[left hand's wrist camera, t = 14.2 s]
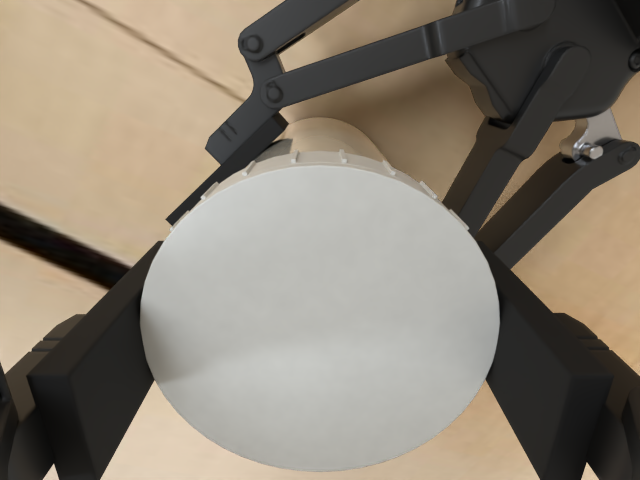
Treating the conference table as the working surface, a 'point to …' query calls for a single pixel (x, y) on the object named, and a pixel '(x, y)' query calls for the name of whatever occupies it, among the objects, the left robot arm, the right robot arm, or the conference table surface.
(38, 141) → the conference table surface
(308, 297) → the lid
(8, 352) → the conference table surface
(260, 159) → the jar
